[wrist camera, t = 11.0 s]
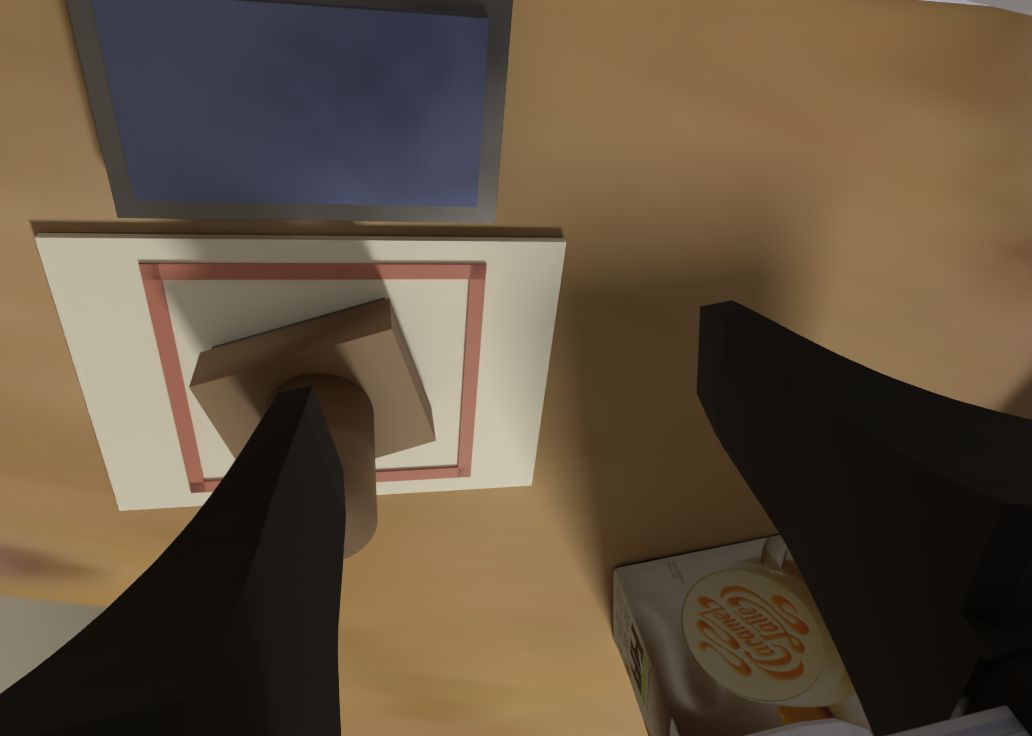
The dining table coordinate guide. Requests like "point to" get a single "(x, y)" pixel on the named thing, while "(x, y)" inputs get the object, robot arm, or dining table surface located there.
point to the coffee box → (728, 643)
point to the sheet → (290, 299)
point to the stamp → (326, 394)
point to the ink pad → (298, 107)
